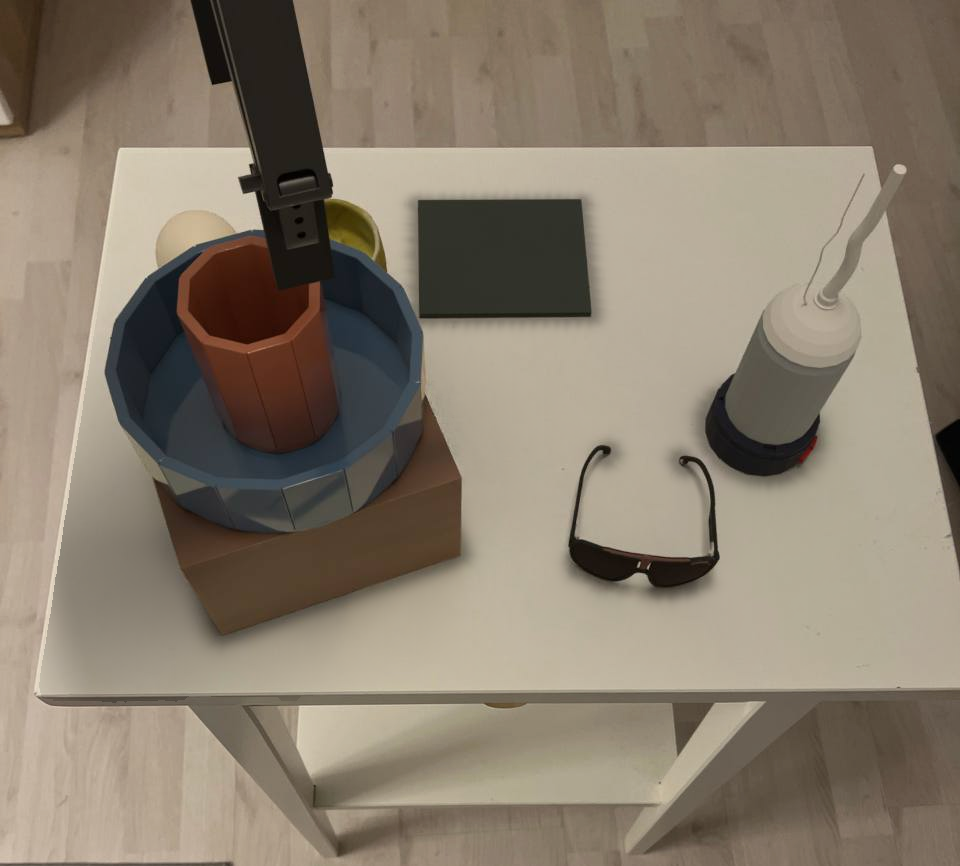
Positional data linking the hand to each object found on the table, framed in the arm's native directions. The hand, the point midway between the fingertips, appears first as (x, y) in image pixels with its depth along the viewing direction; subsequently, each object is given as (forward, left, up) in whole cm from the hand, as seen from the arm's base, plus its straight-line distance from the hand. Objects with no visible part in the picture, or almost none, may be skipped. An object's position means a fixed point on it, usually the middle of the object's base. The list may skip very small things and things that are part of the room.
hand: (269, 172), depth 47 cm
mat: (-14, +19, -27) cm, 36 cm away
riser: (+1, -3, -27) cm, 27 cm away
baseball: (-20, -4, -28) cm, 34 cm away
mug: (-14, +3, -28) cm, 31 cm away
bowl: (+1, -3, -16) cm, 17 cm away
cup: (+1, -3, -16) cm, 16 cm away
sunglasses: (+12, +20, -28) cm, 36 cm away
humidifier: (+8, +32, -28) cm, 43 cm away
